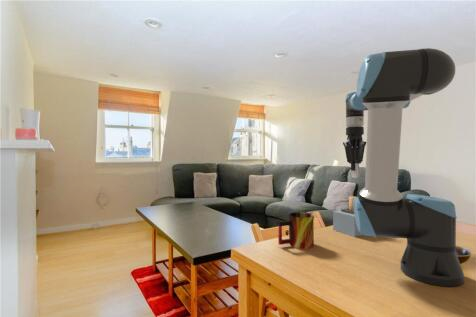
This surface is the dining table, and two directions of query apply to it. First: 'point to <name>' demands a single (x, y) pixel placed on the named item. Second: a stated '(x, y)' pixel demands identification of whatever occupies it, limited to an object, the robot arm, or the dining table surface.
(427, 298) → the dining table surface
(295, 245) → the mug
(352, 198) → the peg
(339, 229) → the socket block
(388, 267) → the dining table surface
